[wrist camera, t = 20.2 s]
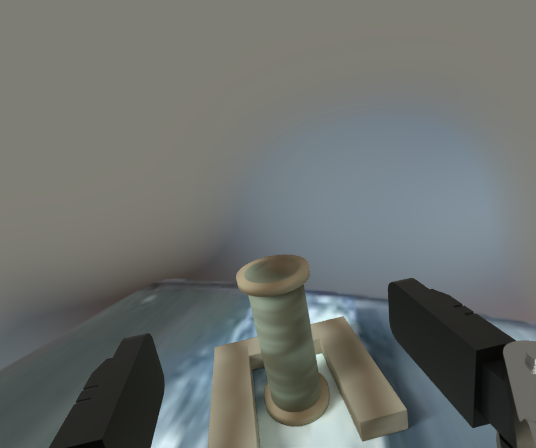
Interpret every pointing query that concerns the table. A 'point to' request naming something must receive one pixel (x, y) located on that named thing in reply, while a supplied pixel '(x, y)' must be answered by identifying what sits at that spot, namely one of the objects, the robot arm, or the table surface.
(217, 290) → the table surface
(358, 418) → the tan u-shaped bracket
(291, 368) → the bobbin
